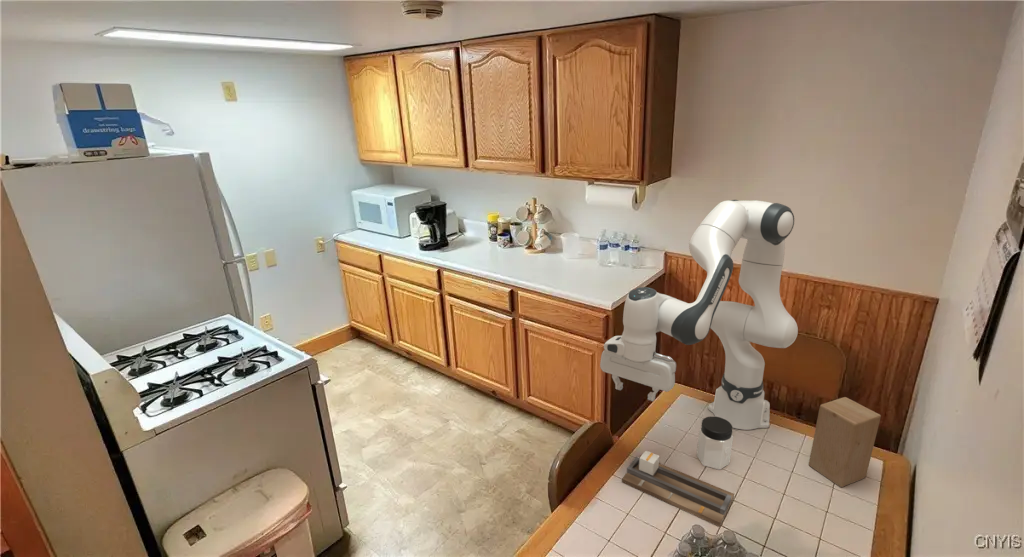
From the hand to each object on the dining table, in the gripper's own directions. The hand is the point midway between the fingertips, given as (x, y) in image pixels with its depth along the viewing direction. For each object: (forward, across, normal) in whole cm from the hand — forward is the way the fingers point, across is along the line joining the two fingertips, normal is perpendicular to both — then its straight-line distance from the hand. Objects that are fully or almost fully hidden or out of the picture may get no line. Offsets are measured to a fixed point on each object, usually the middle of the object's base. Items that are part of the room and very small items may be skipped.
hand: (634, 394), depth 136 cm
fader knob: (+22, -6, +2) cm, 23 cm away
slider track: (+23, -14, +2) cm, 27 cm away
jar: (+23, -18, -16) cm, 34 cm away
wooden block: (+22, -47, -31) cm, 61 cm away
